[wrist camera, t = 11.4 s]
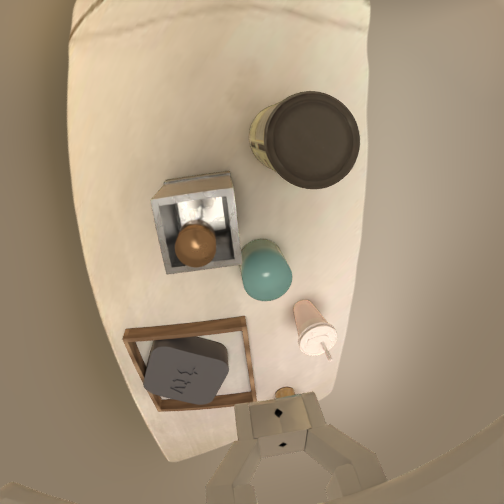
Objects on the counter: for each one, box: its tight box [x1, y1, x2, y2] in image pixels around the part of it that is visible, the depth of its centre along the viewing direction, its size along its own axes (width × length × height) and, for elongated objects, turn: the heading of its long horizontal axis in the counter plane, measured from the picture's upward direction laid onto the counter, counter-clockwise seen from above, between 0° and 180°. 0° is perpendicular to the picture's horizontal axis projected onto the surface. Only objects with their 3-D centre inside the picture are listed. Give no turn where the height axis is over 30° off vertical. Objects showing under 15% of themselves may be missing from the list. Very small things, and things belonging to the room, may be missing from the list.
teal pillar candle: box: [240, 239, 292, 301], centre depth 44 cm, size 7×7×7 cm
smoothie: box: [293, 300, 337, 362], centre depth 46 cm, size 6×6×14 cm
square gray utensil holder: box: [151, 171, 242, 274], centre depth 37 cm, size 9×9×12 cm
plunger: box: [175, 197, 226, 267], centre depth 34 cm, size 6×6×14 cm
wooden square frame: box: [123, 316, 257, 412], centre depth 54 cm, size 23×23×3 cm
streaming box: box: [143, 336, 229, 405], centre depth 52 cm, size 14×14×5 cm
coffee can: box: [249, 91, 360, 189], centre depth 34 cm, size 10×10×14 cm
